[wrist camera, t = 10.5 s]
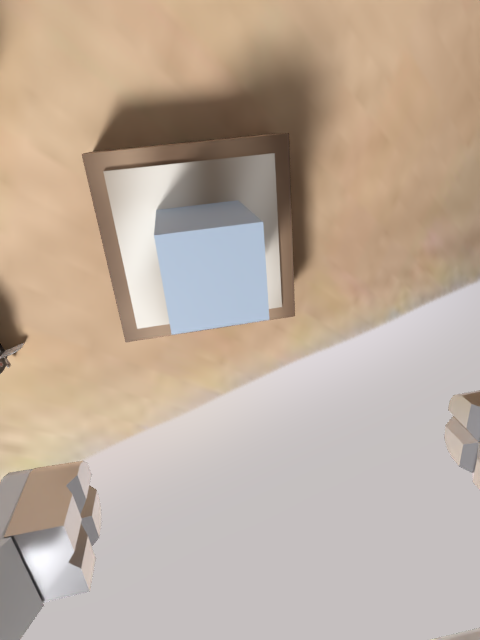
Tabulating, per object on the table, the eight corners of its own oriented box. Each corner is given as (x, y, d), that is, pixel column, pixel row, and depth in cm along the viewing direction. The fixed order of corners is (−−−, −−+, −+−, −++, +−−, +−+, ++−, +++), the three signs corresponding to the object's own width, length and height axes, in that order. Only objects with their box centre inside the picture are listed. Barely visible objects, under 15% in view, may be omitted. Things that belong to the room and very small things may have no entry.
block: (238, 200, 25) (263, 221, 19) (244, 277, 27) (269, 319, 21) (156, 209, 25) (153, 235, 18) (169, 287, 27) (171, 334, 20)
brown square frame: (272, 133, 28) (290, 133, 24) (280, 296, 33) (296, 317, 29) (92, 151, 27) (80, 154, 23) (129, 318, 32) (125, 344, 28)
